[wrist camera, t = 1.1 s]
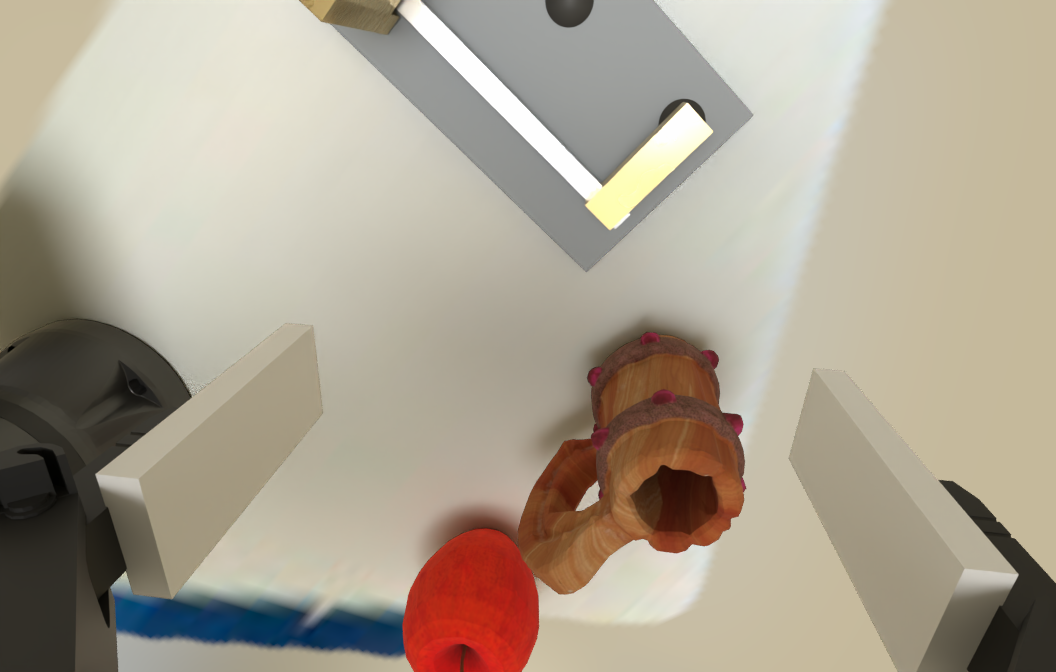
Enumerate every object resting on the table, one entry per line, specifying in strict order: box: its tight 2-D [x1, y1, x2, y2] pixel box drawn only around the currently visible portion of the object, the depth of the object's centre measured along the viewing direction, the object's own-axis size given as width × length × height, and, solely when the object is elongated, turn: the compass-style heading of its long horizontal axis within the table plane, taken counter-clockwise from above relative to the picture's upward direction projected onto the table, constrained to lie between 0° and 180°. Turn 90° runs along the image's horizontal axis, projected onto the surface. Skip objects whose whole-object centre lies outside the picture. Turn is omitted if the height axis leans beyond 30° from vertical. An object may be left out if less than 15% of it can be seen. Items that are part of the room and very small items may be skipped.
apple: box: [403, 528, 539, 672], centre depth 44 cm, size 10×10×12 cm
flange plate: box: [331, 0, 753, 272], centre depth 33 cm, size 24×13×1 cm, turn 47°
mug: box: [518, 332, 746, 594], centre depth 35 cm, size 15×8×15 cm, turn 130°
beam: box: [396, 0, 713, 230], centre depth 31 cm, size 22×7×3 cm, turn 47°
